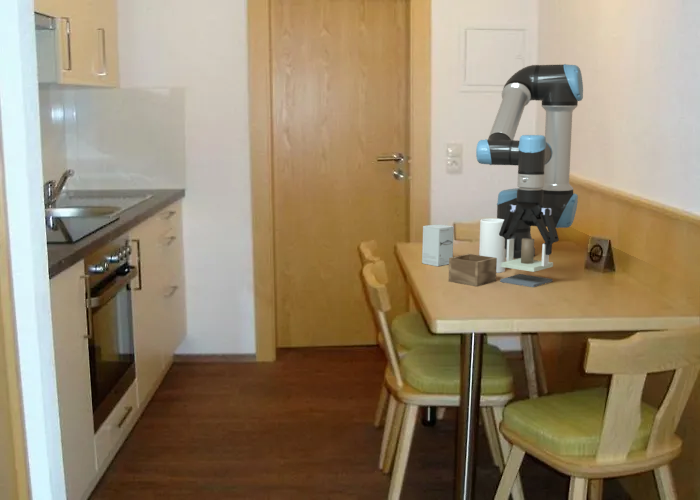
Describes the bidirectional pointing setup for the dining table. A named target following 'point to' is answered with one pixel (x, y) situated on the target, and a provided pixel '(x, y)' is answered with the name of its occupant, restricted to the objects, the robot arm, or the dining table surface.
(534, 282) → the plate
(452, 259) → the box
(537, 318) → the dining table surface
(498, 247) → the cup
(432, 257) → the supplement box
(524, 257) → the lid
